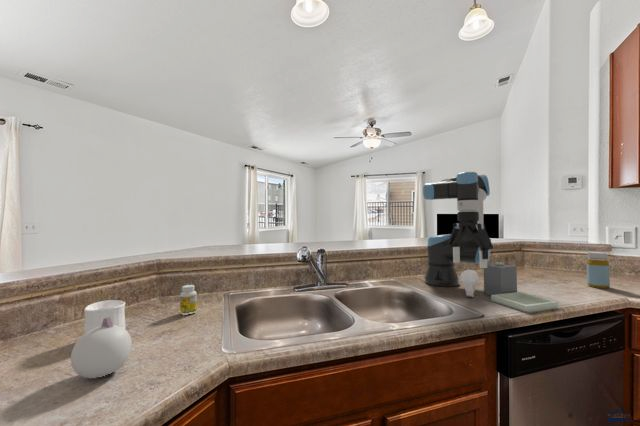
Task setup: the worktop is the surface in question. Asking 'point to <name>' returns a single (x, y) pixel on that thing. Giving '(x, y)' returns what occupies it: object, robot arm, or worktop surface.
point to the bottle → (598, 270)
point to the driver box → (500, 279)
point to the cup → (104, 314)
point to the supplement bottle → (188, 299)
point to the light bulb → (469, 281)
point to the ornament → (101, 350)
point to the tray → (524, 302)
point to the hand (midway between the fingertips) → (469, 265)
